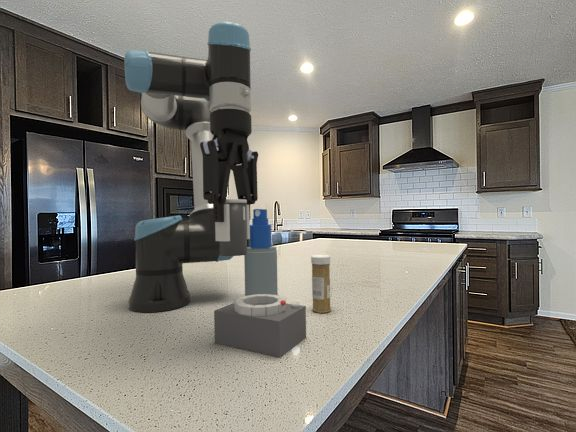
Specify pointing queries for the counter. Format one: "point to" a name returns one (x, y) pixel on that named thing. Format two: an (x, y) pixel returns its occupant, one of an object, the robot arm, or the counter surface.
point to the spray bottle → (260, 258)
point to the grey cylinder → (236, 229)
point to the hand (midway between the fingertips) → (233, 239)
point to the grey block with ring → (261, 324)
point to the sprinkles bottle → (321, 283)
